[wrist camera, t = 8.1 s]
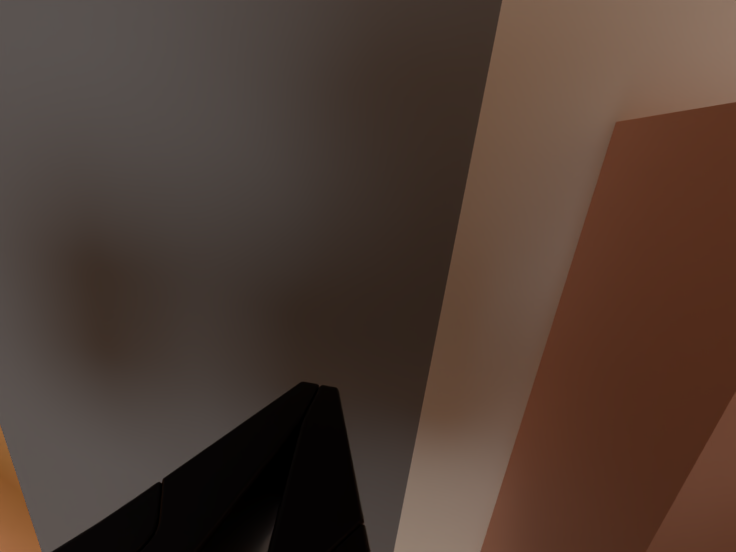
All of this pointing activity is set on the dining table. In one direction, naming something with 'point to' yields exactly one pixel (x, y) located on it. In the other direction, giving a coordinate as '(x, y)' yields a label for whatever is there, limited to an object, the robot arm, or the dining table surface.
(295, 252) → the board
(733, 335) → the t block
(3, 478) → the dining table surface
